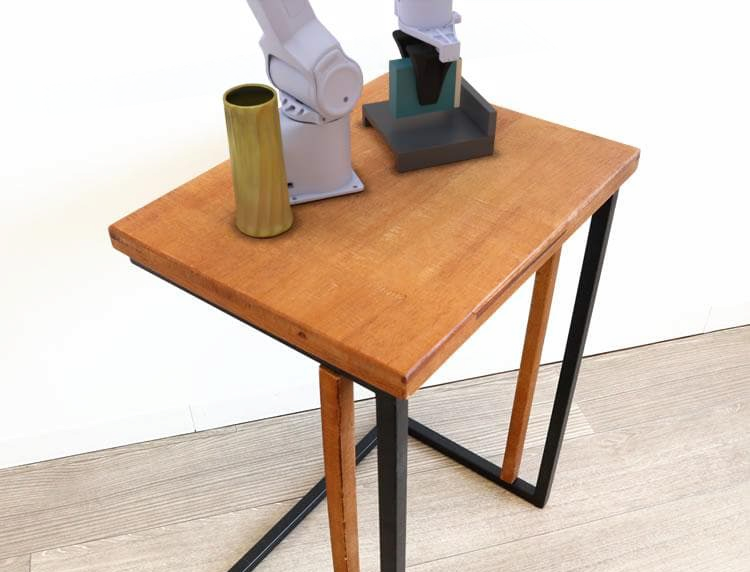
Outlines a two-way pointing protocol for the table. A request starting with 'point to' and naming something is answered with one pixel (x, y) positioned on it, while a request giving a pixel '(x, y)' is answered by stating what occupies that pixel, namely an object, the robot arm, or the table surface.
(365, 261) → the table surface
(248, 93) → the vase
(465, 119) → the grey corner tray
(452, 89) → the book
